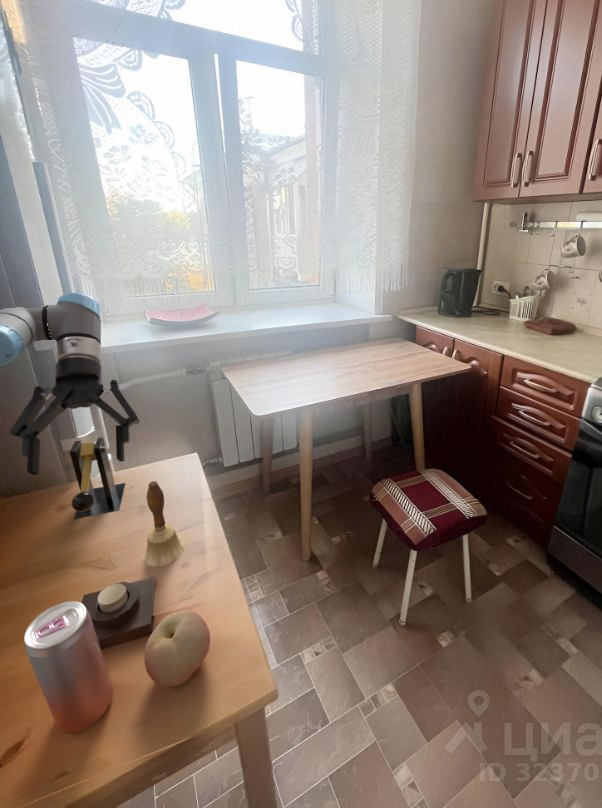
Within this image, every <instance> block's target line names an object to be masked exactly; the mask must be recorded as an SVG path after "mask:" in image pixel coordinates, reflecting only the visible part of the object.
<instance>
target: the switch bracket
mask: <svg viewBox="0 0 602 808" xmlns="http://www.w3.org/2000/svg"><path fill="white" fill-rule="evenodd" d="M82 444H83V443H82V440H76V441H74V442H73V444H72V446H71V448H70V451H69V455H70V459H71V462H72V466H73V470H74V473H75V478H76V480H77V481H76V482H77V484H78V488H79V491H81V482H82V474H83V466H84V462H83V460H82V458H81V456H80V453H81V445H82ZM107 447H108V446H106V443H105V438H104V437H97V439H96V442H95V447H94V452H95V456H96V460H95V461H96V464H97V468H98V471H99V477H100V480H101V483H102V486H100V487H95V488H94V485H93V483H92V478H91V477H90V485H89V492H90V493H92V494H93V495H94V497H95V504H94V505H93V507H92V508H91V509H89V510H87V511H84V512H79V511H76V510H75V514H74V516H73V520H78V519H84V518H88V517H94V516H99V515H104V514H109V513H113V512H119V511H120V509H121V505H122V501H123V496H124V492H125V489H126V488H125V486H126V482H123V483H117V484H116V483H115V480H114V476H113V471H112V468H111V464H110V459H109V456H108V448H107Z"/></svg>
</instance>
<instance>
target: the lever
mask: <svg viewBox="0 0 602 808" xmlns="http://www.w3.org/2000/svg"><path fill="white" fill-rule="evenodd" d="M81 444H82V445H81V453H80V456H81V458H82V460H83V462H84V466H83V474H82V482H81V491H80V490H79V491H80V492H78V493H76V494H75V495H74V496H73V497H72V499H71V502H70V503H71V504H70V505H71V507H72V509H73V510H74V511H75V512H76V511H79V512H84V511H87V510H89V509H91V508H92V507H93V505H94V504H95V497H94V495H93V494H92V493H90V492H89V485H90V478H91V476H92V475H91V474H92V465H93V461H97V460H96V456H95V452H94V447H95V444H96V442H87V443H81Z"/></svg>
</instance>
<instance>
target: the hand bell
mask: <svg viewBox="0 0 602 808" xmlns="http://www.w3.org/2000/svg"><path fill="white" fill-rule="evenodd" d="M147 487H148V488H147V492H146V503H147V506H148V509H149V510H150V512H151V513H152V516H153V526H154V528H152V529H151V530H150V531H149V532H148V533H147V536H146V537H147V538H146V539H147V542H146V549H145V550H144V552H143V554H142V561H143V563H145V564H146V565H147V566H149V567H162V566H166V565H169V564H171V563H172V562H174V561H176V560H177V559H178V558H179V557H180V556H181V555H182V554H183V553H184V551H185V542H184V540H182V539H181V538H179V537H178V534H177V532H176V529H175V527H174V526H172V525H170V524H166V521H165V516H164V508H165V496H164V491H163V490H162V488H161V487H160V485H159V483H158V481H156V480H152V481H150V482H149V483H148V486H147Z"/></svg>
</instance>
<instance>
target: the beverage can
mask: <svg viewBox="0 0 602 808" xmlns="http://www.w3.org/2000/svg"><path fill="white" fill-rule="evenodd" d="M81 603H82V602H80V601H65V602H61V603H58V604H55V605H53V606H51V607H49V608H47V609H45V610H44V611H43V612H41V613H40V614H39V615H37V616H36V617H35V618H34V619H33V620H32V621H31V623H30V624H29V625H28V626H27V628H26V630H25V632H24V636H23V637H24V638H23V641H24V650H25V653H26V655H27V658H28V660H29V663H30V665H31V667H32V669H33V673H34V675H35V677H36V679H37V682H38V684H39V686H40V689H41V691H42V692H41V693H42V694H43V696H44V698H45V701H46V703H47V706H48V708H49V710H50V714H51V715H52V718H53V720H54V722H55V726H56V727H57V728H58V730H59V731H61V732H65V733H77V732H80V731H83V730H86V729H87V728H89V727H91V726H92V725H94V724H95V723H97V721H98V720H100V718H101V717H102V716H103V715H104V713H105V712H106V711H107V709H108V707H109V705H110V704H111V701H112V698H113V694H114V689H113V688H114V687H113V684H112V681H111V677H110V675H109V671H108V667H107V666H106V662H105V659H104V655H103V652H102V650H101V648H100V645H99V642H98V639H97V636H96V632H95V629H94V626H93V623H92V619H91V616H90V613H89V612H88V610H86V608H85V606H84V605H83V604H81Z"/></svg>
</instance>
